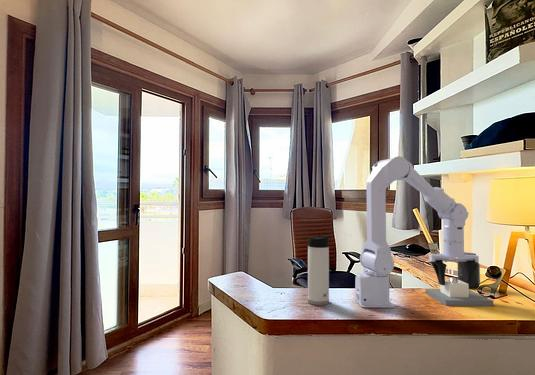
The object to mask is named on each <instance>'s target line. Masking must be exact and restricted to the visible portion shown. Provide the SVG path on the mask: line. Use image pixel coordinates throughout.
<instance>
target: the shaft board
mask: <svg viewBox="0 0 535 375" xmlns="http://www.w3.org/2000/svg"><path fill="white" fill-rule="evenodd" d="M449 279H450V283H458V277H449ZM424 293H425V294H426V295H427V296H429V297H431V298H432V299H434V300H436V301H437V302H439V303H441V304H442V305H443V306H456V307H457V306H458V307H459V306H460V307H461V306H464V307H468V306H470V307H471V306H472V307H474V306H475V307H479V306H480V307H485V306H486V307H494V300H492V299H490V298H488V297H487V296H484V295H482V294H479V293H476V292H475V291H472V290H470V289H469V297H449V296H447V295H445V294H444V293H442V292H440V288H425V292H424Z"/></svg>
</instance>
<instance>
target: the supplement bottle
mask: <svg viewBox="0 0 535 375" xmlns="http://www.w3.org/2000/svg"><path fill="white" fill-rule="evenodd" d="M464 254H465V255H477V253H474V252H465V251H464ZM475 263H477V264H478V267H477V268H476V269H475V271H474V273H473V275H472V277H471V280H470V284H469V290H470V289H471V290H477V288H478V287H479V285H480V286H481V269H480V268H481V264H480V262H475ZM457 279H458V280H460V281H463V278H462V267H461V263H460V261H457ZM478 289H479V288H478Z"/></svg>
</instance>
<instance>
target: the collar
mask: <svg viewBox="0 0 535 375" xmlns="http://www.w3.org/2000/svg"><path fill="white" fill-rule="evenodd" d="M439 285H440V284H439ZM439 289H440V292H442V293H444V294H445V295H447V296H449V297H469V290H470V289H469V284H467V283H465V282H463V281H460V280H458V283H450V278H449V279H446V278H445V285H440V287H439Z"/></svg>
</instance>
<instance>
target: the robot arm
mask: <svg viewBox="0 0 535 375" xmlns="http://www.w3.org/2000/svg"><path fill="white" fill-rule="evenodd" d="M413 166H414V165H413V164H412V163H411V162H410V161H408V160H407V159H406V158H405V157H404V156H395V157H391V158H387V159H381V160H379V161H377V162H376V163H375V164H373V165H372V167H371V168H372V170H371V172H370V174H369V176H368V178H367V180H366V183H365V184H366V187H365V188H366V241H365V242H364V243H363V244H362V251H361V254H360V256H359V262H360V265H361V266H362V267H363V272H361V273H360V272H359V273H358V272H357V273H356V274H355V279H354V280H355V281H354V282H355V284H354V285H355V286H354V287H355V288H354V289H355V290H354V292H355V294H354V295H355V297H354V300H355V301H356V302H357V303H358V304H359V305H360V307H362V308H381V309H383V308H384V309H385V308H387V309H389V308H391V309H392V308H396V306H395V305H394V304H393V303H392V302H391V301H390V276H391V273H392V271H393V270H394V268H395V260H394V258H393V256H392V249H391V247H390V246H389V244H388V242H387V212H386V211H387V210H386V209H387V205H386V203H387V201H386V200H387V199H386V198H387V197H386V195H387V194H386V193H387V192H386V190H387V188H388V187H389V186H390V185H392V183H394V182H395V181H404V182H406V183H408V185H410V186H411V187H413V189H415V190H417V191H418V192H419V193H421V194H422V195H423V199H424V201H425V203H426V204H428V205H429V206H430V207H431V208H432V209H434V210H435V211H436V212H437V215H438V217H439V219H441V220H442V253H436V254H435V253H433V254H431V253H430V254H428V260H429V261H430V264H431V265H432V268H433V269H434V271H435V274H436V277H437V281H438V284H439V285H445V279H446V270H447V266H448V265H447V264H446V263H445V262H458V261H460V263H461V267H462V278H463V282H465V283H467V284H470V280H471V277H472V275H473V273H474V271H475V269H476V268H477V267H478V264H477V263H475V262H478V263H480V262H479V255H477V254H476V255H465V254H464V252H465V226H466V220H467V218H469V211H468V210H467V208H466V206H464V205H463V203H457V202H456V201H455V200H456V199H454V198H453V197H450V196H449V195H448V194H447V193H446V192H445V189H444V188H442V187H437V186H435V187H433V186H432V185H431V184H430V183H429V182H428V181H427V180H426V179H424V177H423V176H421V174H419V172H418V171H417V170H416V169H415V168H414V167H413Z"/></svg>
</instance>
